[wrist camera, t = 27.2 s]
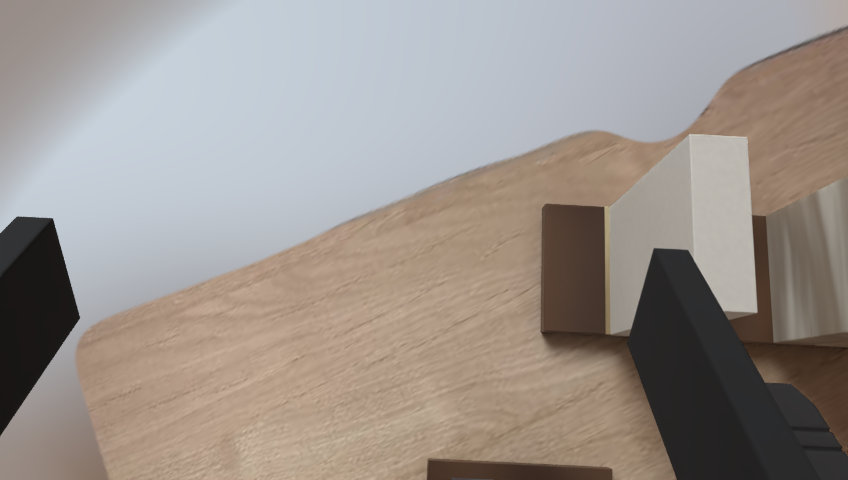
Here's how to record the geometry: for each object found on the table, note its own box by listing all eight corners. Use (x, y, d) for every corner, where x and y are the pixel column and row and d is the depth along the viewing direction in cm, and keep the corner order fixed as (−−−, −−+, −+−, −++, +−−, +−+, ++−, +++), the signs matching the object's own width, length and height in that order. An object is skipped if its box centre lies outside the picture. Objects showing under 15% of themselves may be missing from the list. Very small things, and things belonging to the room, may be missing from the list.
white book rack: (540, 332, 48) (602, 304, 33) (541, 207, 50) (601, 128, 35) (853, 349, 48) (1052, 328, 33) (842, 224, 50) (1025, 153, 35)
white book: (610, 335, 47) (696, 309, 33) (609, 207, 49) (689, 133, 35) (654, 337, 47) (758, 313, 33) (651, 209, 49) (747, 137, 35)
